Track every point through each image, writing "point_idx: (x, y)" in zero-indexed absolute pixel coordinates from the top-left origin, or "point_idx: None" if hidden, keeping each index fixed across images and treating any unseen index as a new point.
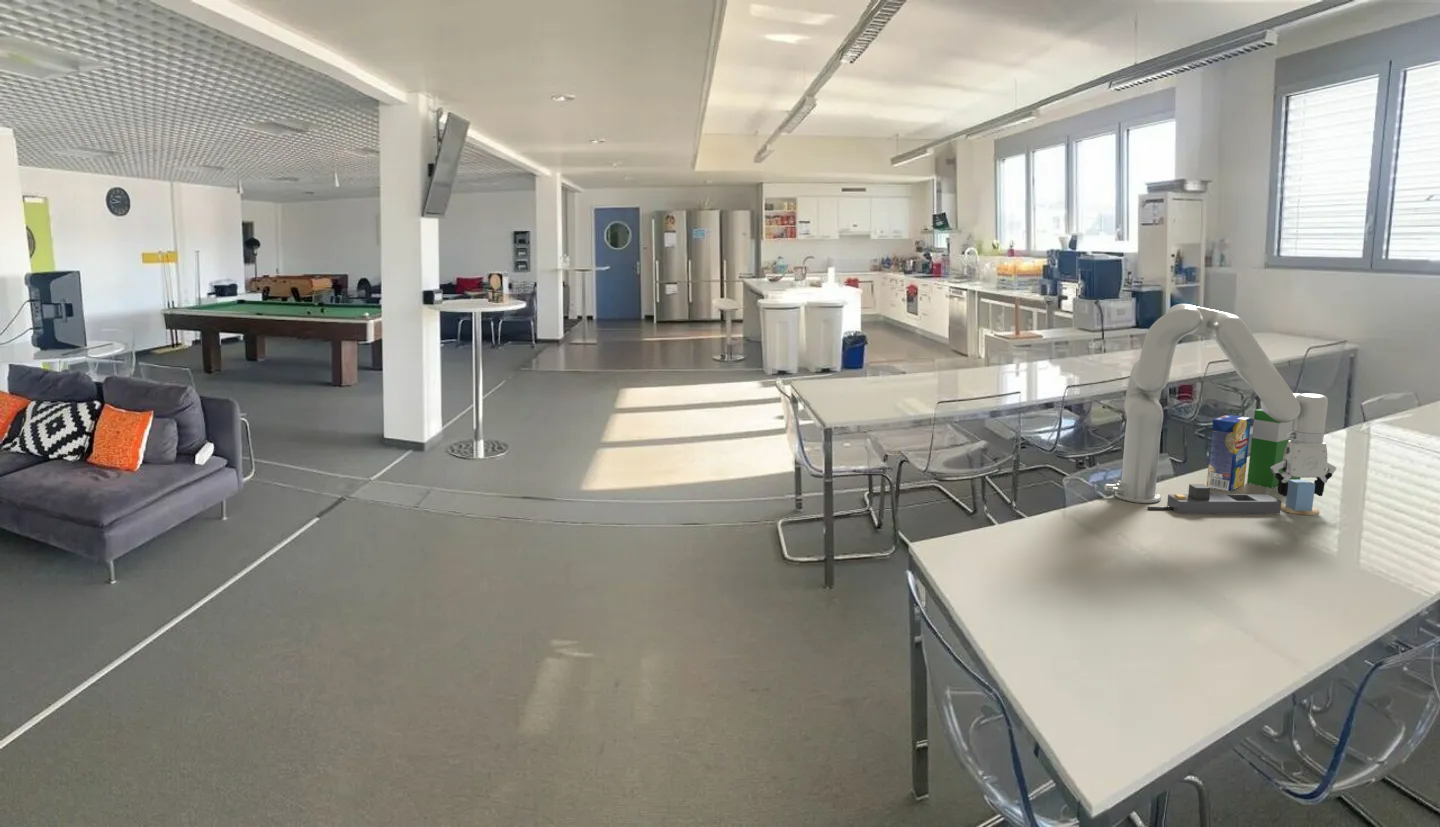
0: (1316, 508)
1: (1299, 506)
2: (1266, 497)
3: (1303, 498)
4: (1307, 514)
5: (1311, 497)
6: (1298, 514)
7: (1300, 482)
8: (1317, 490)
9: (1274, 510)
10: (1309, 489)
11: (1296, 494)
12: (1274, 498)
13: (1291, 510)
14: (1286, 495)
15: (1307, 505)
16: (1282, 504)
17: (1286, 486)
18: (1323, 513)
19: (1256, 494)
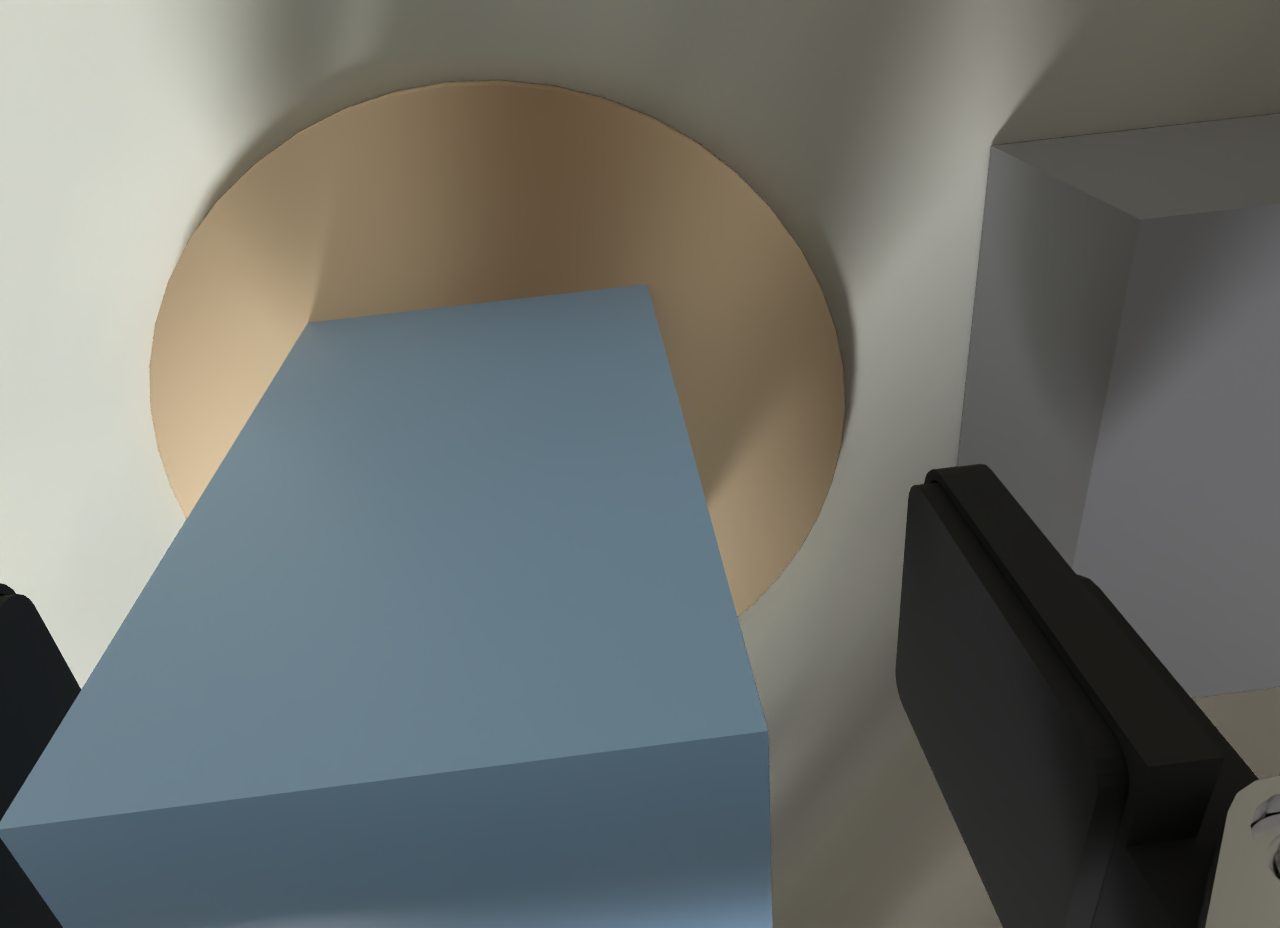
0: (172, 482)
1: (570, 331)
2: (1238, 511)
3: (496, 427)
4: (480, 85)
5: (272, 469)
6: (649, 117)
7: (550, 924)
8: (6, 763)
9: (1147, 147)
10: (298, 621)
11: (698, 487)
12: (1113, 464)
13: (706, 300)
14: (938, 472)
15: (392, 363)
16: None
17: (1109, 657)
18: (98, 263)
19: (1264, 678)
